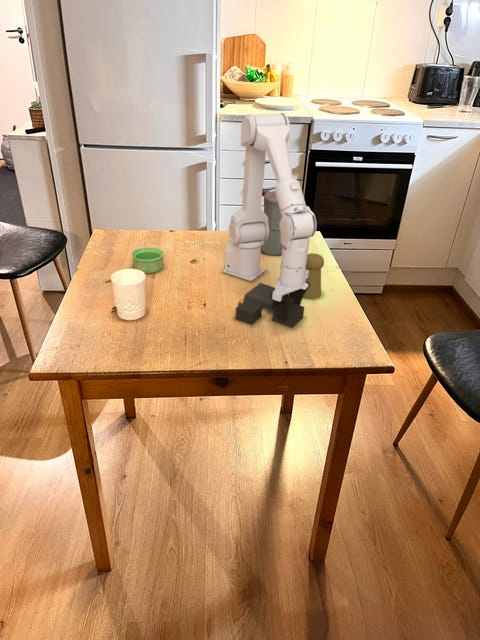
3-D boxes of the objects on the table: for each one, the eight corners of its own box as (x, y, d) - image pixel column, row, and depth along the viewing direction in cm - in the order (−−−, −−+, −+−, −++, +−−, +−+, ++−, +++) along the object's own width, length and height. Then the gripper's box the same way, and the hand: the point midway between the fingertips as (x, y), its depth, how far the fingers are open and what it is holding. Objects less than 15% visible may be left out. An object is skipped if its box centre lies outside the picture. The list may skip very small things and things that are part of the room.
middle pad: (271, 320, 120) (272, 309, 118) (282, 310, 124) (283, 299, 122) (292, 328, 117) (293, 316, 116) (302, 317, 121) (304, 306, 120)
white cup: (153, 308, 122) (151, 272, 117) (138, 324, 116) (135, 287, 110) (125, 302, 124) (122, 266, 119) (108, 317, 118) (104, 280, 112)
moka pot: (286, 261, 148) (293, 196, 137) (242, 248, 154) (245, 184, 143) (300, 250, 155) (308, 187, 144) (257, 238, 161) (261, 177, 150)
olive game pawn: (320, 300, 129) (325, 262, 123) (297, 297, 130) (301, 259, 124) (321, 289, 134) (327, 252, 128) (299, 286, 135) (303, 249, 129)
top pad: (235, 318, 120) (236, 307, 118) (245, 310, 123) (246, 299, 121) (251, 325, 118) (252, 313, 116) (261, 316, 121) (262, 305, 119)
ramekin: (170, 270, 140) (169, 255, 138) (140, 277, 136) (139, 262, 133) (156, 257, 146) (155, 244, 144) (127, 264, 142) (126, 250, 139)
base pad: (244, 301, 127) (244, 294, 126) (260, 289, 133) (260, 282, 132) (271, 311, 124) (272, 304, 122) (286, 298, 129) (287, 291, 128)
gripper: (294, 280, 106) (288, 333, 113) (323, 257, 116) (315, 306, 123) (265, 271, 109) (261, 323, 116) (296, 249, 119) (290, 298, 126)
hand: (287, 314), depth 120 cm, fingers closed on middle pad, 5 cm apart
